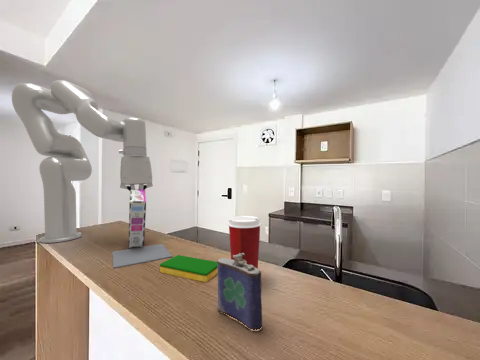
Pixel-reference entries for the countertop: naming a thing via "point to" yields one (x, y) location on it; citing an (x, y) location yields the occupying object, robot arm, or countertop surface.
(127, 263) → the mat
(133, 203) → the candy bar box
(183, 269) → the dish sponge
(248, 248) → the paper cup
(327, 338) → the countertop surface
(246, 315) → the flask
